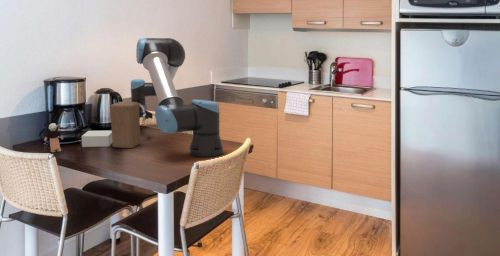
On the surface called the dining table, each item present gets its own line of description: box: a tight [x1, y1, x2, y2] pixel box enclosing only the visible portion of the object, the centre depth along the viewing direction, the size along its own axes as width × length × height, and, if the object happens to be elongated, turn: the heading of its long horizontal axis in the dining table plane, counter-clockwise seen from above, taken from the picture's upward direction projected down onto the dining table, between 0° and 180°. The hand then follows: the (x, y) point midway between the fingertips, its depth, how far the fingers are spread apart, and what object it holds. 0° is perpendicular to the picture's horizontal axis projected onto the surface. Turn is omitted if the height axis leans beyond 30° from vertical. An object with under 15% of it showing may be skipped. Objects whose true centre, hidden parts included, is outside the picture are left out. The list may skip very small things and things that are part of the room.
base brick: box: [81, 129, 113, 148], centre depth 212 cm, size 12×12×5 cm
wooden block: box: [109, 101, 142, 149], centre depth 207 cm, size 10×10×20 cm
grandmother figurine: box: [43, 122, 64, 153], centre depth 197 cm, size 8×4×13 cm, turn 135°
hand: (129, 118), depth 216 cm, fingers open, 13 cm apart
